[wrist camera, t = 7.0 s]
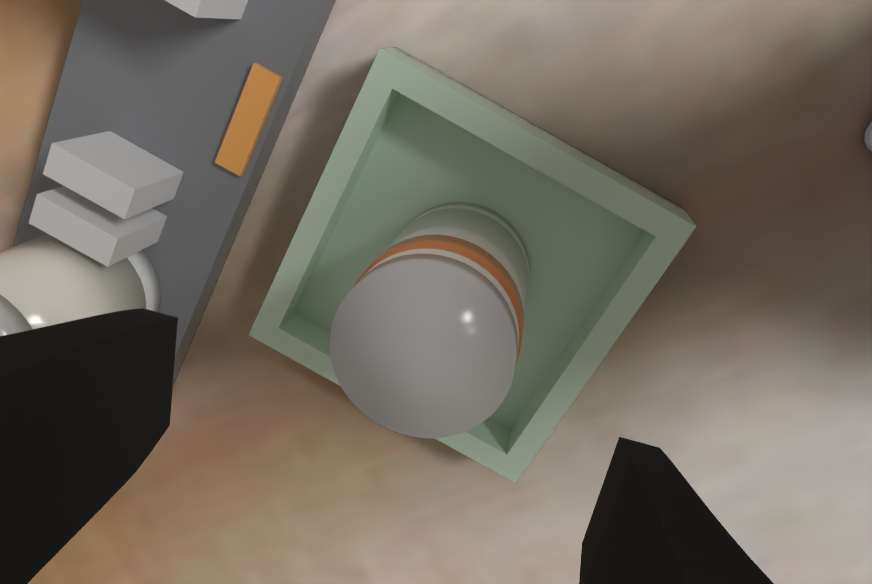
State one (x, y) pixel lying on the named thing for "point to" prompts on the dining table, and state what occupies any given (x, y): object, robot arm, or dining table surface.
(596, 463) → the dining table surface
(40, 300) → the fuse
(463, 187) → the tray
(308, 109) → the dining table surface
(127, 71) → the fuse holder
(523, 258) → the cylinder
